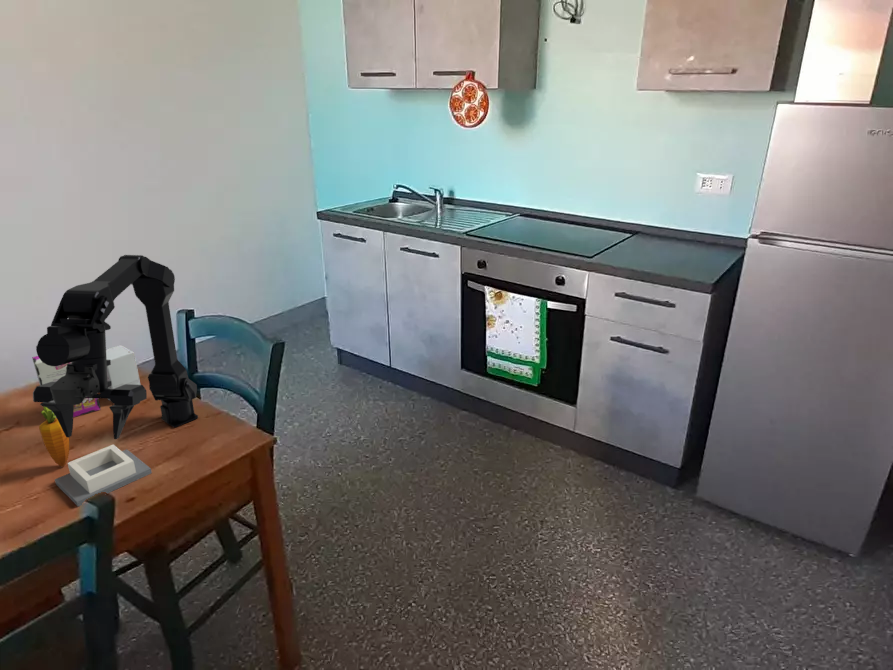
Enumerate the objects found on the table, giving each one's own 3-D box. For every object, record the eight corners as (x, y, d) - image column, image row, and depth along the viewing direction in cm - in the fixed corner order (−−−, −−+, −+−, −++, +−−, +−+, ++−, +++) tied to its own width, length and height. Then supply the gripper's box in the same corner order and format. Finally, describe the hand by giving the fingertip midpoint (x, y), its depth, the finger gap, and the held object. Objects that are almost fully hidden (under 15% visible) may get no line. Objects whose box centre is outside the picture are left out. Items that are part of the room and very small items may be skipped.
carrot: (52, 462, 139) (36, 402, 133) (77, 458, 140) (62, 398, 134) (47, 475, 134) (31, 414, 128) (74, 470, 136) (58, 410, 130)
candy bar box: (96, 402, 163) (83, 344, 156) (101, 410, 159) (88, 351, 153) (47, 415, 156) (31, 356, 150) (50, 424, 153) (34, 363, 146)
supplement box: (129, 386, 171) (121, 344, 166) (143, 395, 167) (135, 351, 162) (101, 396, 166) (92, 352, 161) (115, 405, 162) (105, 361, 157)
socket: (127, 453, 142) (124, 437, 140) (151, 473, 136) (148, 456, 134) (55, 484, 132) (51, 467, 130) (78, 506, 125) (73, 489, 123)
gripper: (8, 362, 110) (14, 449, 112) (114, 366, 109) (117, 453, 111) (50, 352, 121) (55, 431, 123) (146, 355, 120) (149, 434, 122)
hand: (92, 437), depth 119 cm, fingers open, 9 cm apart
